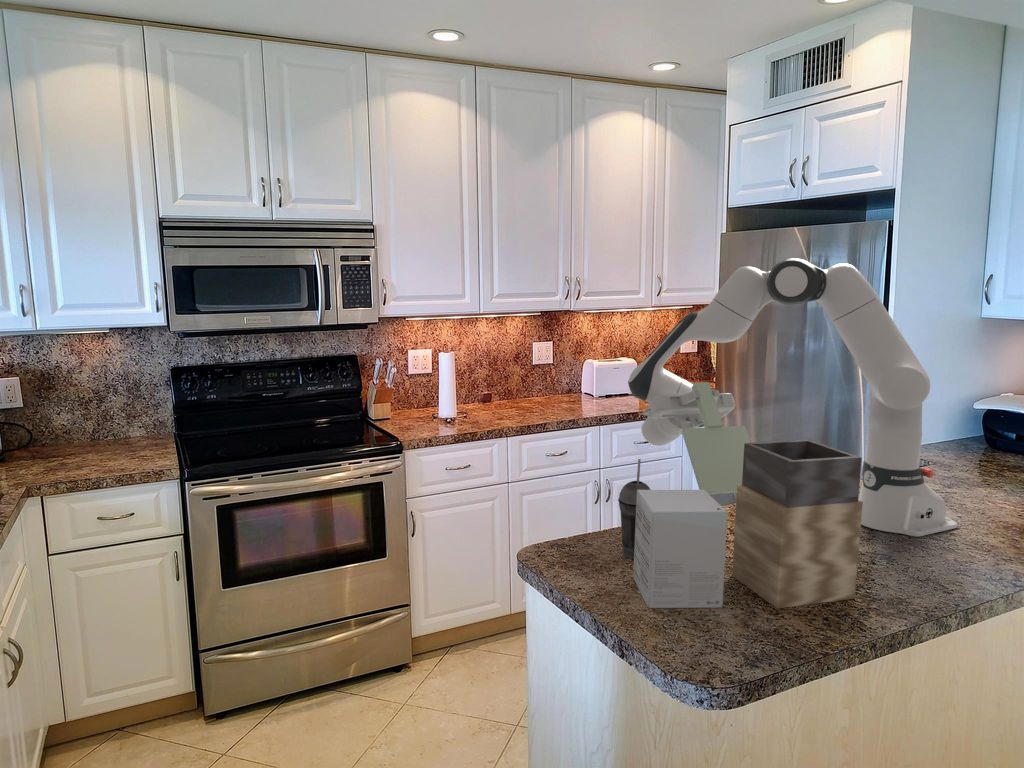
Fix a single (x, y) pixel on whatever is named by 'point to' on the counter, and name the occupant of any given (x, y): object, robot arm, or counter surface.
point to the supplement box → (679, 549)
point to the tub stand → (798, 522)
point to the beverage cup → (630, 513)
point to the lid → (715, 447)
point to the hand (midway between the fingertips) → (706, 393)
